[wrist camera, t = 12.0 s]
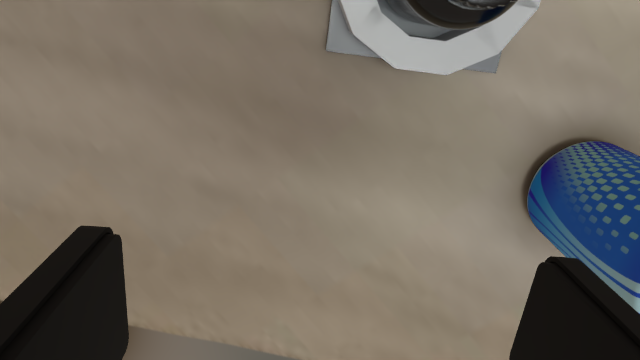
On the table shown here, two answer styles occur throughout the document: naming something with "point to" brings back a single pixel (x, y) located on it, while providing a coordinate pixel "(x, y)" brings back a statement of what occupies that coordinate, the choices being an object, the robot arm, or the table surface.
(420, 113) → the table surface
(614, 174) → the beer can
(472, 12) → the supplement bottle
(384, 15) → the socket
